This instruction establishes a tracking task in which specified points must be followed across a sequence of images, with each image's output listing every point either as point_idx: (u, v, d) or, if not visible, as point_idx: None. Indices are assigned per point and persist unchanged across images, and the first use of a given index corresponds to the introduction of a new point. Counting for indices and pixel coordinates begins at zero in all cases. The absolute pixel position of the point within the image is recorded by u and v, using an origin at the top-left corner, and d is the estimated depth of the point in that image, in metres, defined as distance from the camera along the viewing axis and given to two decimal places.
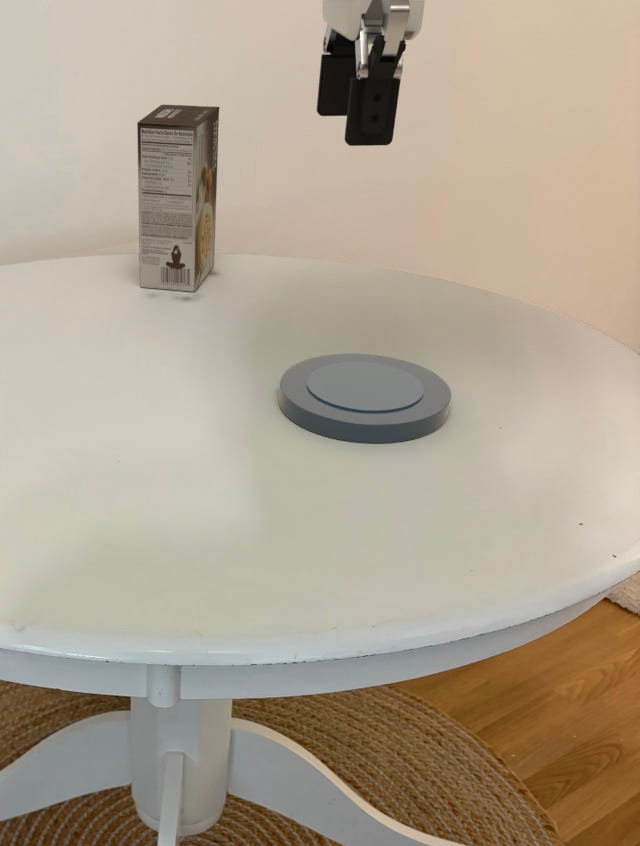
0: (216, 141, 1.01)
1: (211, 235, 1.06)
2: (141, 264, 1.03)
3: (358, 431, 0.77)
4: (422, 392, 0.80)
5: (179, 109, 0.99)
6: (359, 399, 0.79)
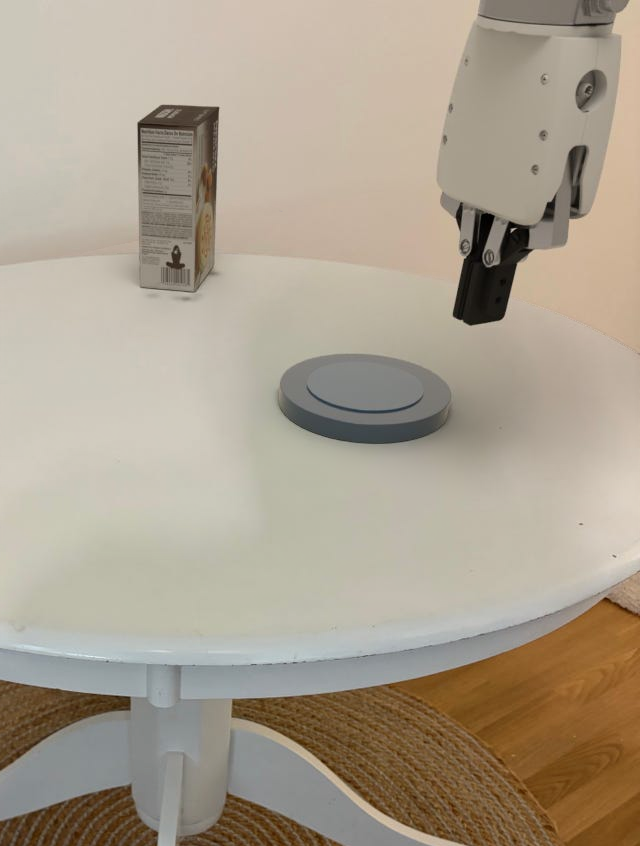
0: (216, 141, 1.01)
1: (211, 235, 1.06)
2: (141, 264, 1.03)
3: (358, 431, 0.77)
4: (422, 392, 0.80)
5: (179, 109, 0.99)
6: (359, 399, 0.79)
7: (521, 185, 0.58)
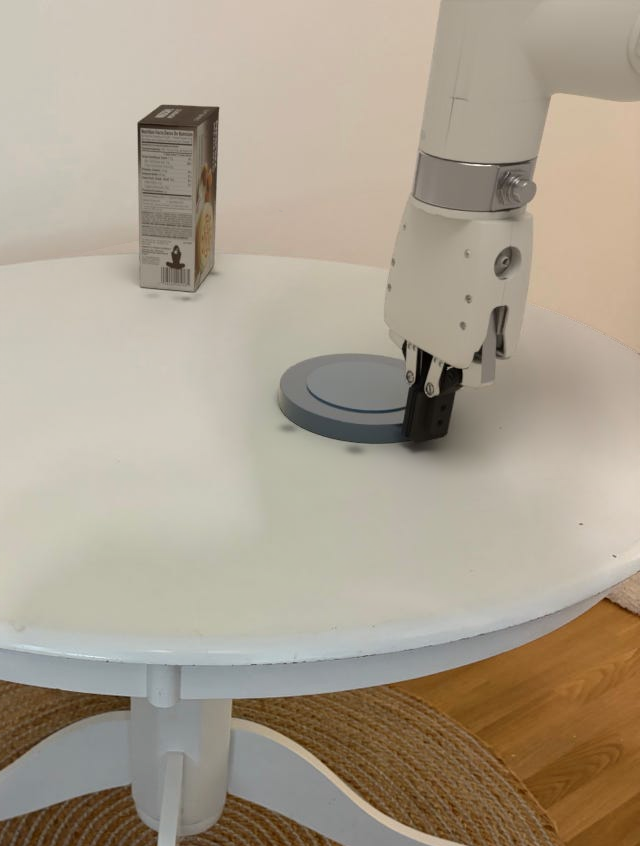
0: (216, 141, 1.01)
1: (211, 235, 1.06)
2: (141, 264, 1.03)
3: (358, 431, 0.77)
4: None
5: (179, 109, 0.99)
6: (359, 399, 0.79)
7: (452, 336, 0.67)
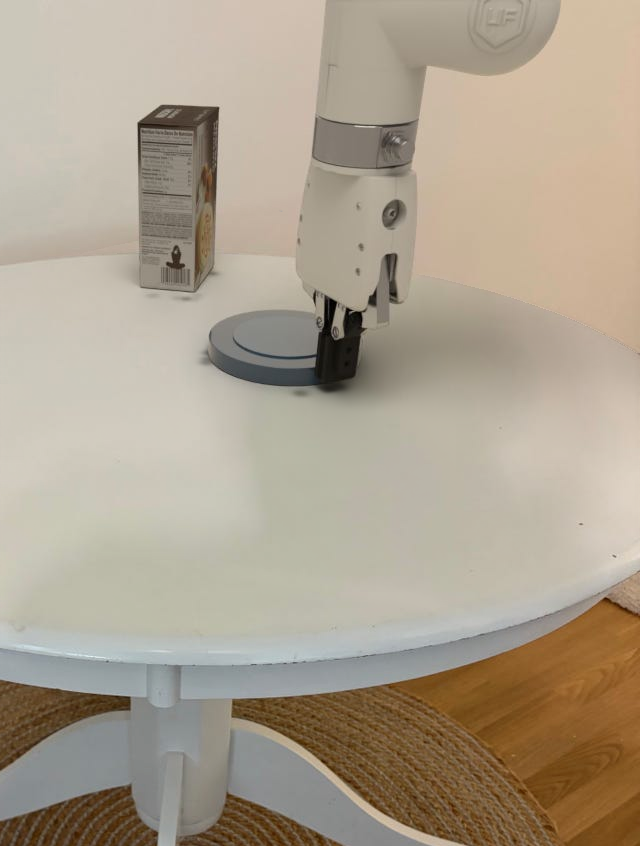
0: (216, 141, 1.01)
1: (211, 235, 1.06)
2: (141, 264, 1.03)
3: (276, 374, 0.85)
4: None
5: (179, 109, 0.99)
6: (279, 347, 0.88)
7: (350, 282, 0.76)
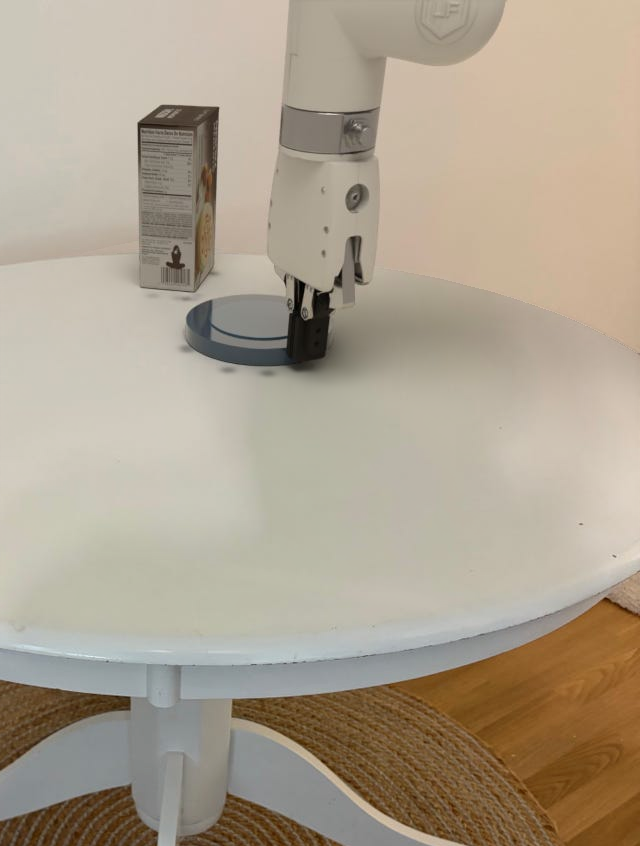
0: (216, 141, 1.01)
1: (211, 235, 1.06)
2: (141, 264, 1.03)
3: (249, 355, 0.88)
4: None
5: (179, 109, 0.99)
6: (253, 329, 0.91)
7: (316, 263, 0.79)
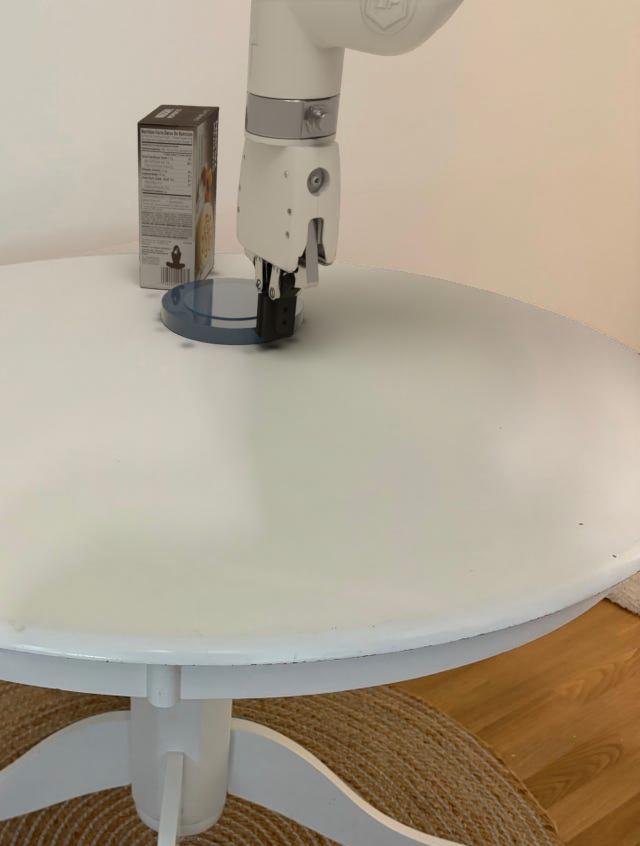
0: (216, 141, 1.01)
1: (211, 235, 1.06)
2: (141, 264, 1.03)
3: (221, 334, 0.92)
4: None
5: (179, 109, 0.99)
6: (225, 310, 0.95)
7: (281, 244, 0.83)
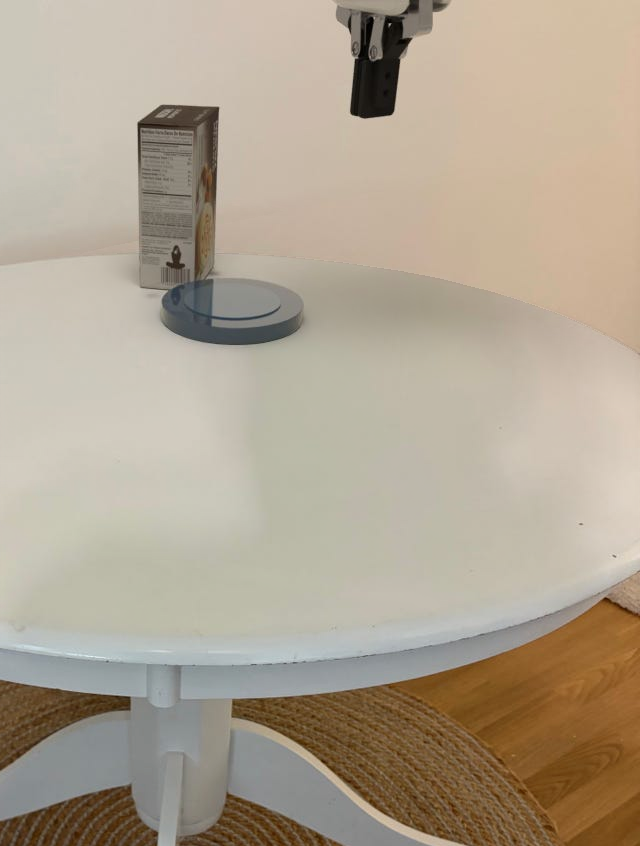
0: (216, 141, 1.01)
1: (211, 235, 1.06)
2: (141, 264, 1.03)
3: (221, 334, 0.92)
4: (279, 305, 0.96)
5: (179, 109, 0.99)
6: (225, 309, 0.95)
7: None
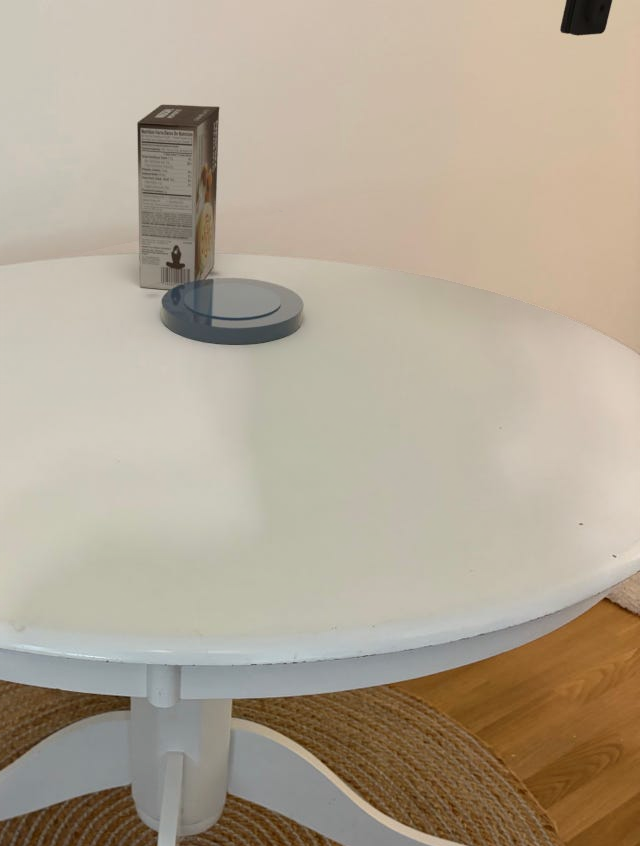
0: (216, 141, 1.01)
1: (211, 235, 1.06)
2: (141, 264, 1.03)
3: (221, 334, 0.92)
4: (279, 305, 0.96)
5: (179, 109, 0.99)
6: (225, 309, 0.95)
7: None
